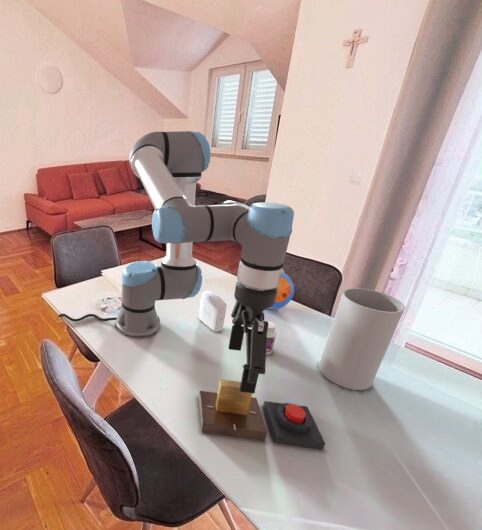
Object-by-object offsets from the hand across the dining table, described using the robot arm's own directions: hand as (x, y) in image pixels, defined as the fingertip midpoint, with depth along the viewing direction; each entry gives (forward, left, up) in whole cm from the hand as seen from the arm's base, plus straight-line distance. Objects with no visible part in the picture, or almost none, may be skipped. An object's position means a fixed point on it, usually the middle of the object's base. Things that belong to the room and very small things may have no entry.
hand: (240, 368), depth 70 cm
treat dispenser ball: (+24, +58, -16) cm, 65 cm away
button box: (+14, 0, -16) cm, 21 cm away
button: (+14, 0, -12) cm, 19 cm away
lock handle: (0, 0, -13) cm, 13 cm away
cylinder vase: (+35, +21, -16) cm, 44 cm away
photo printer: (0, +41, -16) cm, 44 cm away
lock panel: (0, 0, -16) cm, 16 cm away
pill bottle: (+15, +29, -16) cm, 37 cm away
